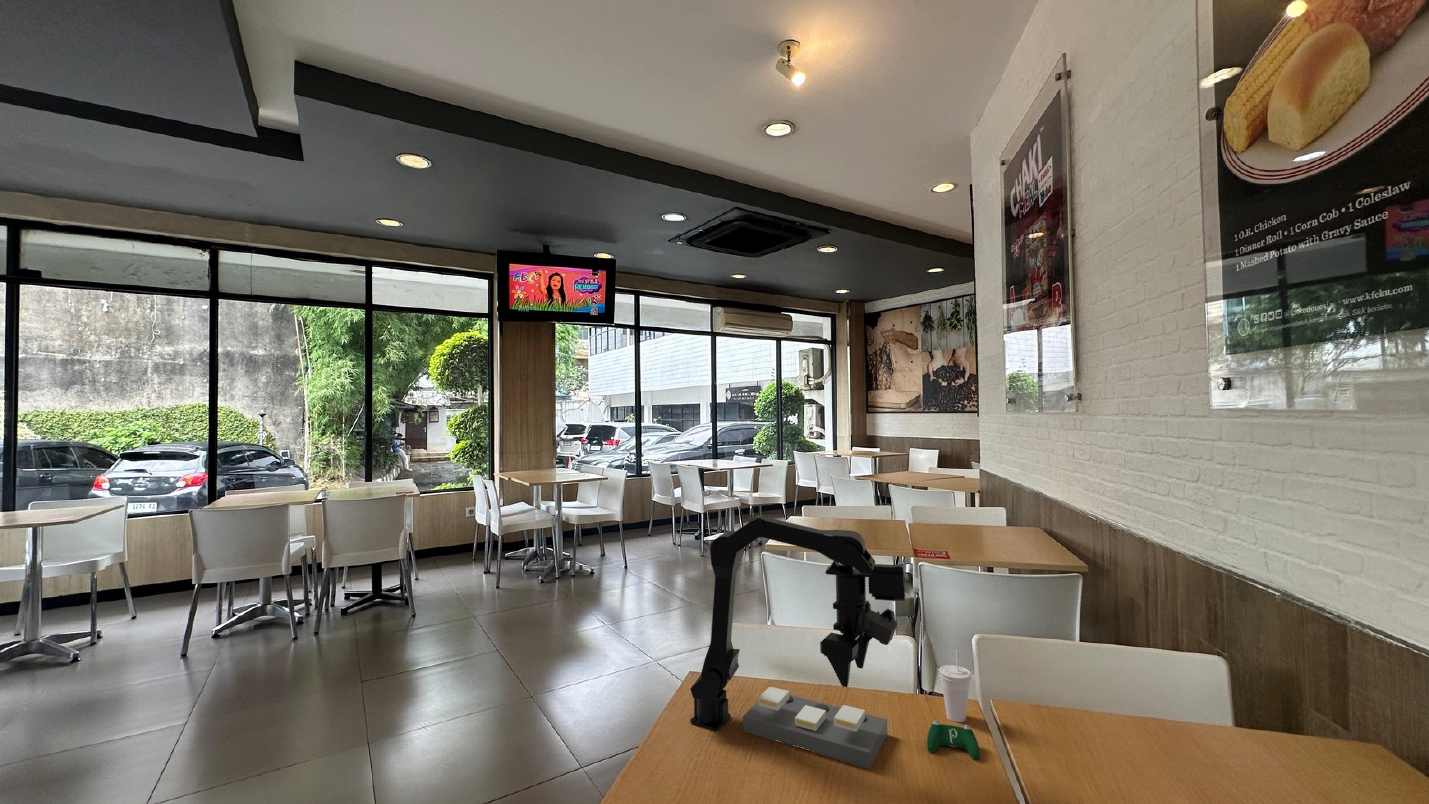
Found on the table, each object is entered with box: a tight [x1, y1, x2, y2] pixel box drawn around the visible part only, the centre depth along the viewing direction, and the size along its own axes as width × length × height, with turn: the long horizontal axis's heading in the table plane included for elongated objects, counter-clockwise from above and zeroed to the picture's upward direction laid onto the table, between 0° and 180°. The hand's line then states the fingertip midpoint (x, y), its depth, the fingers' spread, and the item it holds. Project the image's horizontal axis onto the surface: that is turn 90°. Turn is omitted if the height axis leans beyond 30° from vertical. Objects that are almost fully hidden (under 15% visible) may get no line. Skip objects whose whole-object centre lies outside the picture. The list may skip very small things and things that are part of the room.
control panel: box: [742, 694, 888, 770], centre depth 118 cm, size 26×13×3 cm, turn 60°
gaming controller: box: [926, 719, 981, 761], centre depth 112 cm, size 9×4×6 cm
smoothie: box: [938, 650, 973, 723], centre depth 123 cm, size 6×6×14 cm
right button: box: [834, 704, 866, 732], centre depth 112 cm, size 4×6×2 cm
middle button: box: [795, 705, 826, 731], centre depth 116 cm, size 4×6×2 cm
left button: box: [757, 686, 790, 710], centre depth 120 cm, size 4×6×2 cm
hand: (852, 676), depth 114 cm, fingers open, 9 cm apart
